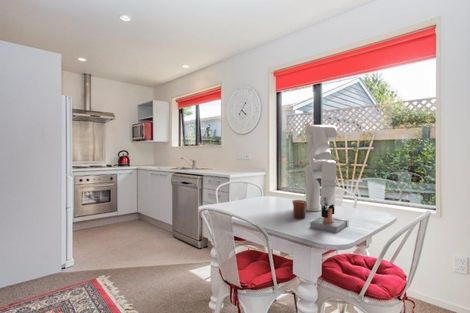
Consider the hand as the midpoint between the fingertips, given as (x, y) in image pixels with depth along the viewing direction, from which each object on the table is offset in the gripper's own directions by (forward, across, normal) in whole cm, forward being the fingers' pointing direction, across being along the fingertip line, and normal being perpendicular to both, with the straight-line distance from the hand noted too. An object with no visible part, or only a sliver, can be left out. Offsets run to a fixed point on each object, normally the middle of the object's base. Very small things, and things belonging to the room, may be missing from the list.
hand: (328, 215), depth 147 cm
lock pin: (+6, 0, 0) cm, 6 cm away
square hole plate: (+6, 0, 0) cm, 6 cm away
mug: (+7, -10, -21) cm, 24 cm away
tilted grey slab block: (+7, -10, +2) cm, 12 cm away
